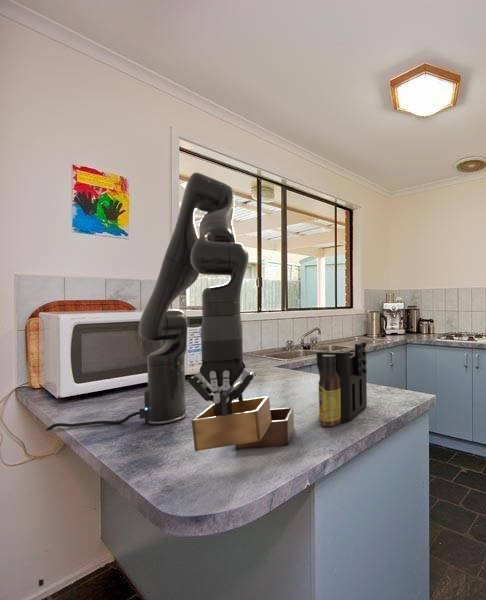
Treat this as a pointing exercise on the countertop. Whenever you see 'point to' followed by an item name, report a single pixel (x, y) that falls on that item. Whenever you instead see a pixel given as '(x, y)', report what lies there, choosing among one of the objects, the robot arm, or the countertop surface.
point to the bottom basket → (275, 430)
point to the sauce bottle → (329, 392)
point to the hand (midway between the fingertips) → (223, 419)
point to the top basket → (232, 422)
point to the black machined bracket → (349, 378)
